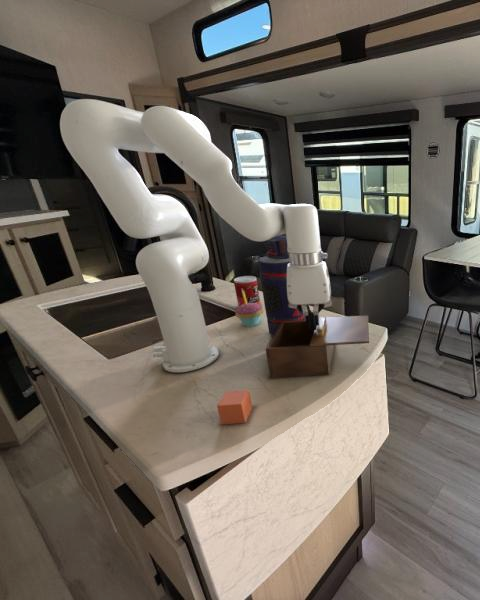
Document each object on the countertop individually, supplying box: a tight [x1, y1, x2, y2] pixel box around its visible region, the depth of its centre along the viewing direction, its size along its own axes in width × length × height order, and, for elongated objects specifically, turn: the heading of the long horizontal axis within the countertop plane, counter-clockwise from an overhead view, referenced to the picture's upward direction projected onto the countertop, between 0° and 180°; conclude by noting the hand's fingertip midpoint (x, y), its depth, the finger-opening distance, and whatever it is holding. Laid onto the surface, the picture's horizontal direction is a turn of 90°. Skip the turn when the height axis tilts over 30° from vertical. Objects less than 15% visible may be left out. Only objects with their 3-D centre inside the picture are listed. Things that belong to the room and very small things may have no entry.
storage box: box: [265, 320, 335, 379], centre depth 84 cm, size 14×16×8 cm
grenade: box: [257, 235, 306, 337], centre depth 96 cm, size 14×12×30 cm
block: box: [216, 389, 253, 425], centre depth 64 cm, size 4×4×4 cm
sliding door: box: [310, 315, 370, 346], centre depth 83 cm, size 14×16×2 cm
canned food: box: [233, 275, 261, 307], centre depth 120 cm, size 8×8×11 cm
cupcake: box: [235, 289, 264, 327], centre depth 105 cm, size 9×8×12 cm
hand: (313, 327), depth 82 cm, fingers closed
